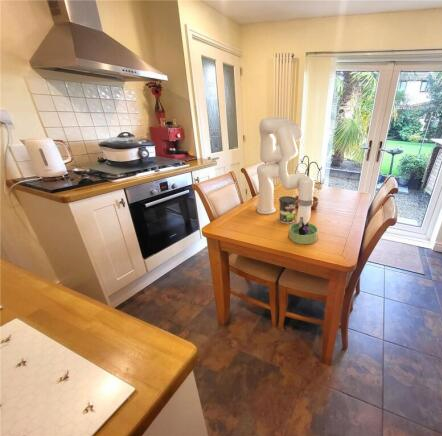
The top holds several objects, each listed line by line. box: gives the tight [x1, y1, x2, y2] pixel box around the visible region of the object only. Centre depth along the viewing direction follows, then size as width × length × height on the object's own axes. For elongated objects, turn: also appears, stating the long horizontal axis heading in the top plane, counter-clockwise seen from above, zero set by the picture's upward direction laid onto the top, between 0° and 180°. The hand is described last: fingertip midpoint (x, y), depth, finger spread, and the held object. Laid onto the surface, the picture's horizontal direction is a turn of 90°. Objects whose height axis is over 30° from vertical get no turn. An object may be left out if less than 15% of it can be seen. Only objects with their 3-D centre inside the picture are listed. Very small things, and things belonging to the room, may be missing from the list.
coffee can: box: [278, 195, 297, 225], centre depth 144 cm, size 10×10×14 cm
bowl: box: [288, 222, 319, 245], centre depth 126 cm, size 15×15×6 cm
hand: (303, 232), depth 126 cm, fingers closed on ball, 4 cm apart
